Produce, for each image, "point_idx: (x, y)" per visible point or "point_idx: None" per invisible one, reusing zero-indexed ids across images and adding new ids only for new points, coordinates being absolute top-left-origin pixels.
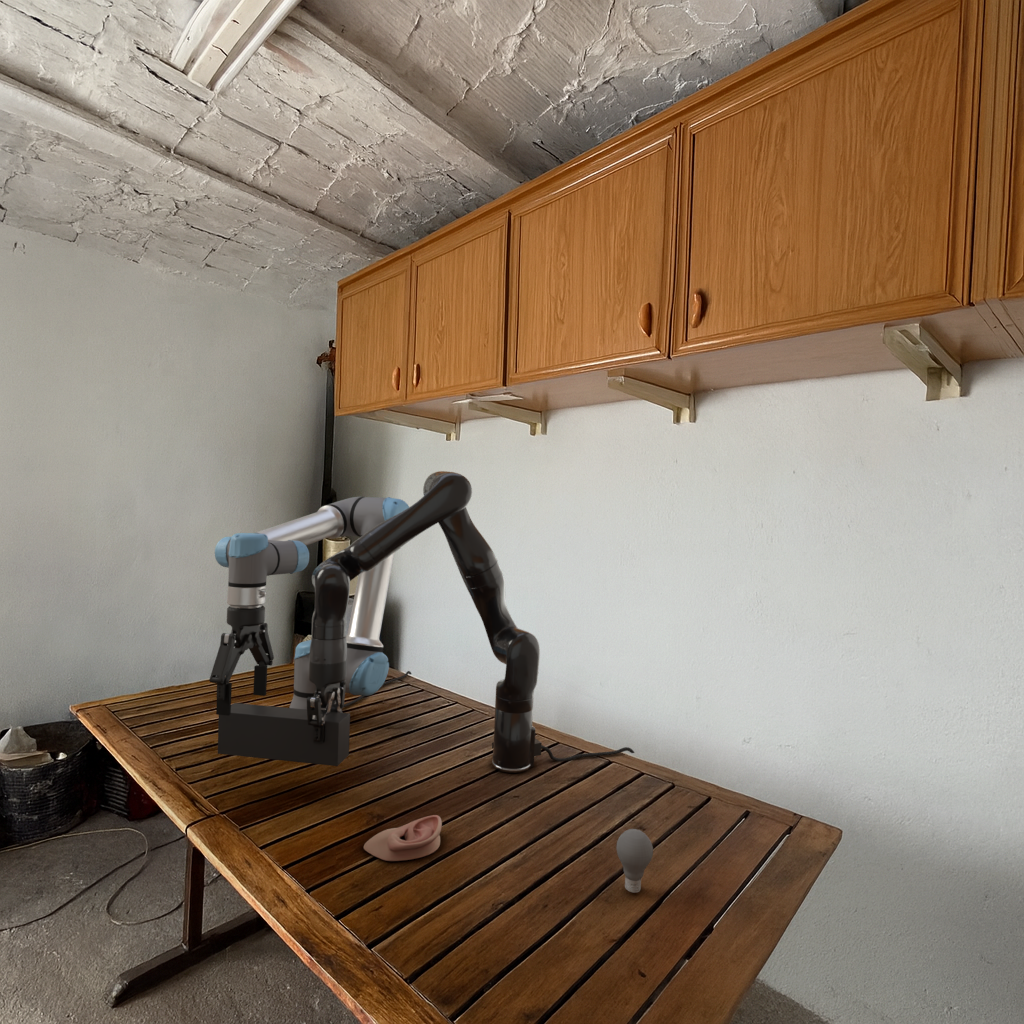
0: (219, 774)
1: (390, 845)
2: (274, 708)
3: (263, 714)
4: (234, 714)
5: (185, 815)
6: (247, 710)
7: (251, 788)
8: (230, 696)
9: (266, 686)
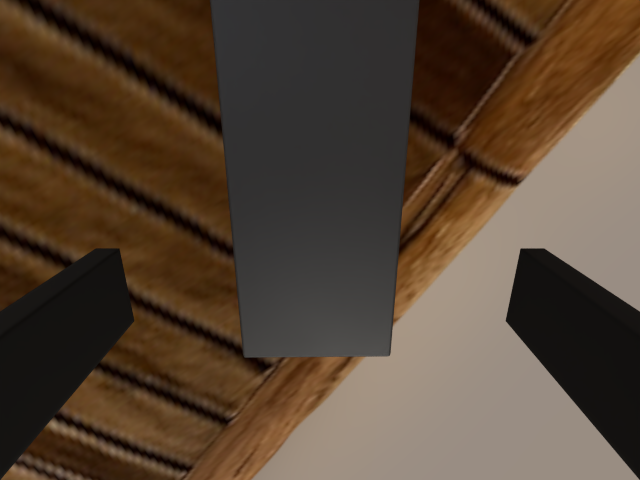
0: None
1: None
2: (258, 78)
3: (389, 89)
4: (396, 269)
5: (472, 219)
6: (341, 229)
7: None
8: (616, 311)
9: (56, 275)
